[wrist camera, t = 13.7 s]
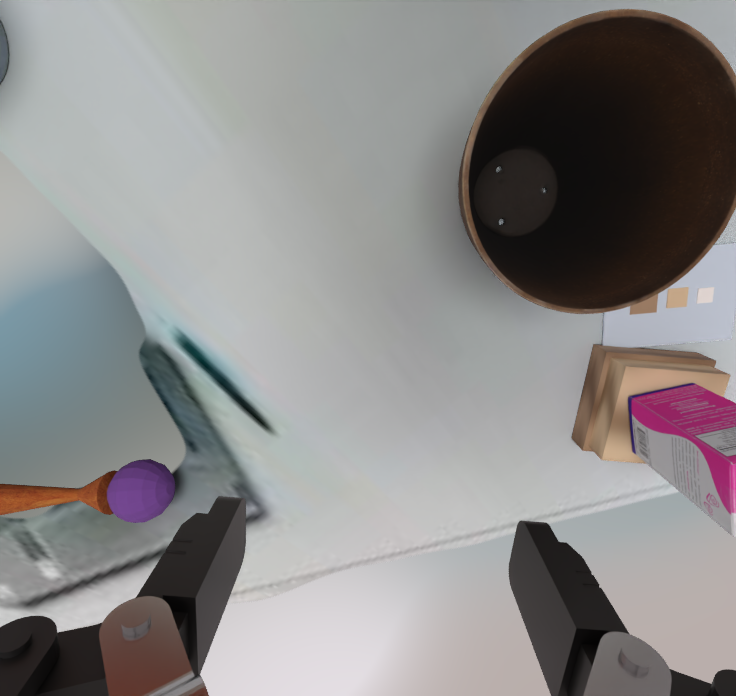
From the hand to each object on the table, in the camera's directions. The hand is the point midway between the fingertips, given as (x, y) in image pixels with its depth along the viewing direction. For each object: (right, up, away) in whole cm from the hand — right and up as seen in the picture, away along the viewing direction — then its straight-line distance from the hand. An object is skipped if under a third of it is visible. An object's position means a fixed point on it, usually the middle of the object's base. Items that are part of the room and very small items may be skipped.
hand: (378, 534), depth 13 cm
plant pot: (+12, +19, +26) cm, 34 cm away
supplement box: (+26, -1, +26) cm, 37 cm away
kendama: (-30, -9, +35) cm, 47 cm away
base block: (+26, +1, +31) cm, 40 cm away
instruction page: (+28, +10, +28) cm, 41 cm away
